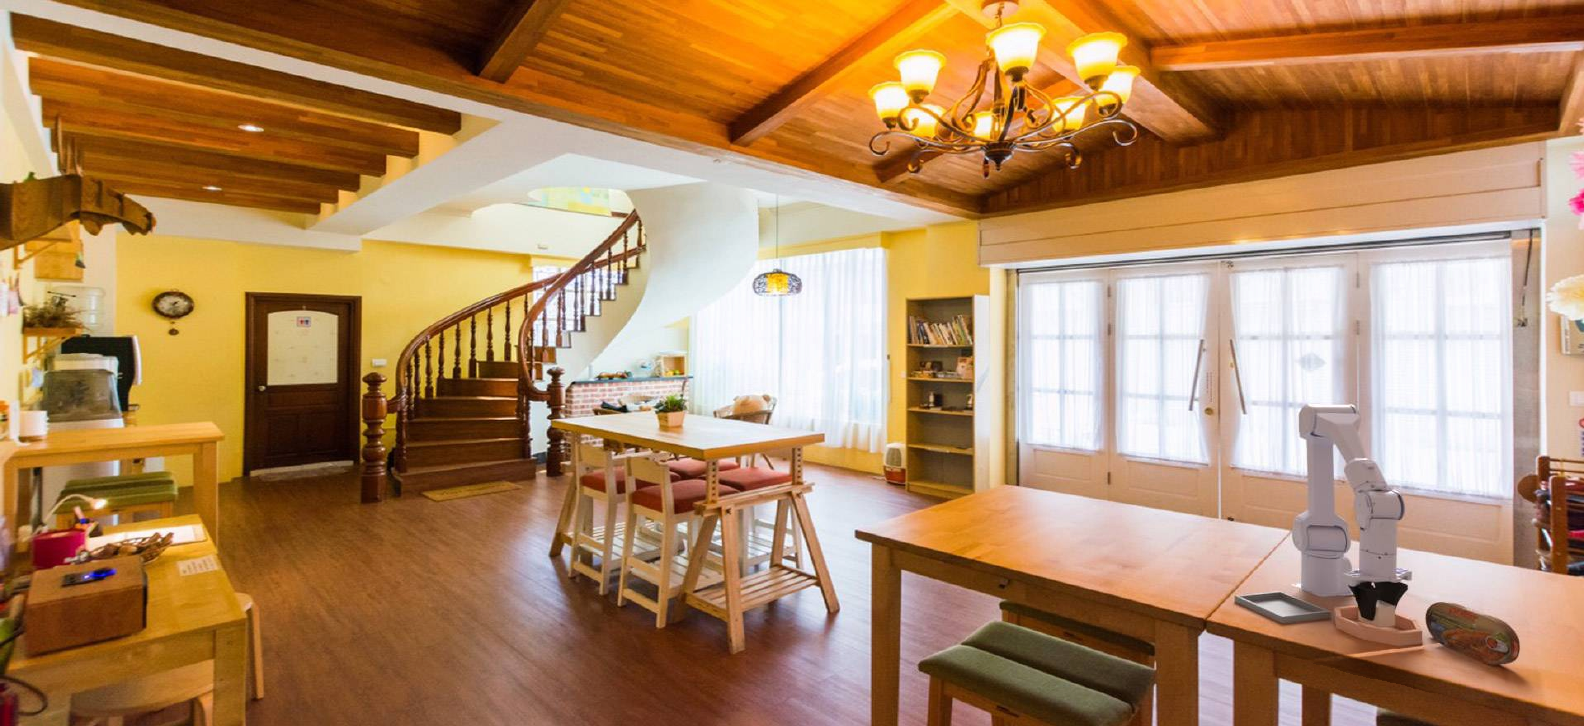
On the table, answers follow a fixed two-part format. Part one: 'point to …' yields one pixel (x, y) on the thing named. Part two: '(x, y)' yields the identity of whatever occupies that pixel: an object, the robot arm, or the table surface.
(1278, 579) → the table surface
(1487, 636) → the tin
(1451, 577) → the table surface
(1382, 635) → the bowl
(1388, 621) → the beige cube
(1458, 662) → the table surface
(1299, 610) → the parts tray
